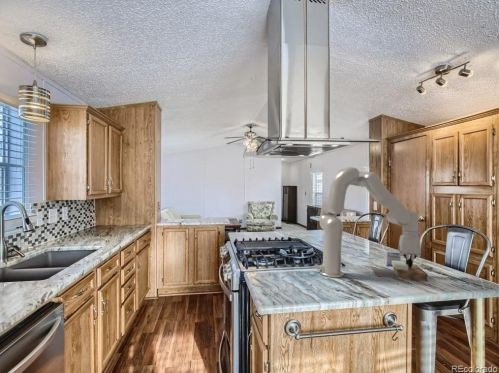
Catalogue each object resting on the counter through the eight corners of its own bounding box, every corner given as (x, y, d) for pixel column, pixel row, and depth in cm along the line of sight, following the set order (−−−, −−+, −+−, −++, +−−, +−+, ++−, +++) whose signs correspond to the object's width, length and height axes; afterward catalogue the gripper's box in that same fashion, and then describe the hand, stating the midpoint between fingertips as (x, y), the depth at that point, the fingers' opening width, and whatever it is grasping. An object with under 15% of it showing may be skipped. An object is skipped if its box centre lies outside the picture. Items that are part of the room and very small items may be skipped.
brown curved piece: (401, 279, 145) (402, 271, 145) (393, 270, 160) (393, 263, 160) (427, 281, 142) (427, 273, 142) (416, 272, 158) (416, 265, 158)
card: (396, 269, 149) (396, 264, 149) (391, 264, 158) (391, 260, 158) (408, 270, 147) (408, 265, 147) (403, 265, 156) (403, 261, 156)
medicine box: (386, 266, 168) (386, 252, 168) (384, 264, 173) (384, 250, 173) (400, 267, 167) (400, 253, 166) (398, 265, 171) (398, 251, 171)
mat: (377, 276, 149) (377, 275, 149) (371, 268, 162) (371, 268, 162) (399, 278, 146) (399, 277, 146) (392, 270, 160) (392, 269, 160)
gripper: (422, 233, 153) (421, 266, 153) (393, 231, 157) (392, 263, 157) (428, 235, 146) (427, 270, 146) (397, 233, 149) (396, 267, 149)
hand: (409, 266), depth 151 cm, fingers closed
